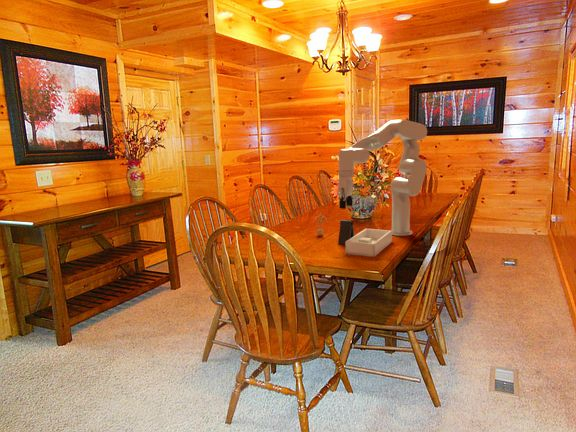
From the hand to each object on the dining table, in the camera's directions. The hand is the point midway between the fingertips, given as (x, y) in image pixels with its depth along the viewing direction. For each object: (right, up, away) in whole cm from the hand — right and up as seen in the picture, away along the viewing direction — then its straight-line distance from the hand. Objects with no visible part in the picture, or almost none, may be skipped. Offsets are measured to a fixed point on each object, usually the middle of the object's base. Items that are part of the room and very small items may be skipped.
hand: (346, 207), depth 220 cm
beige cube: (+7, -21, -13) cm, 26 cm away
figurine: (-12, -16, +22) cm, 29 cm away
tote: (+11, -20, -7) cm, 24 cm away
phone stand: (+1, -19, +4) cm, 19 cm away
